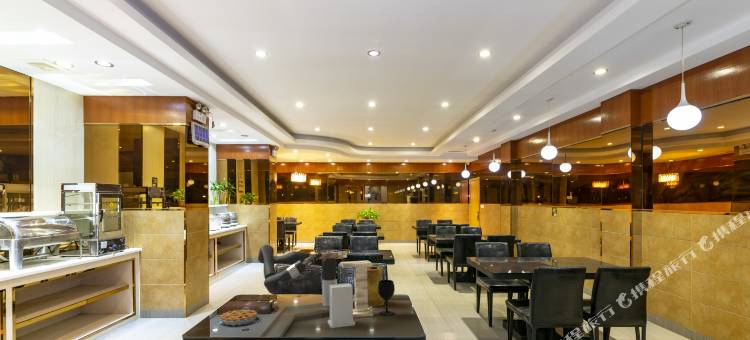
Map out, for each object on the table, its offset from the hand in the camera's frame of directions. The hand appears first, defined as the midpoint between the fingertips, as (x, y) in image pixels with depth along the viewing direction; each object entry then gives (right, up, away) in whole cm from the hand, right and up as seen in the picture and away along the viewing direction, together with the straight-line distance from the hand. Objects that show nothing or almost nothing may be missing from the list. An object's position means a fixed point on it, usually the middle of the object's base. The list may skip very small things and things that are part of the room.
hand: (320, 253), depth 253 cm
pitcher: (+32, -40, +28) cm, 59 cm away
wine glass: (+40, -39, +5) cm, 56 cm away
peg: (+4, -3, +1) cm, 5 cm away
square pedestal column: (+22, -39, +4) cm, 45 cm away
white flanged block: (+14, -38, -14) cm, 43 cm away
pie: (-49, -40, -3) cm, 63 cm away
